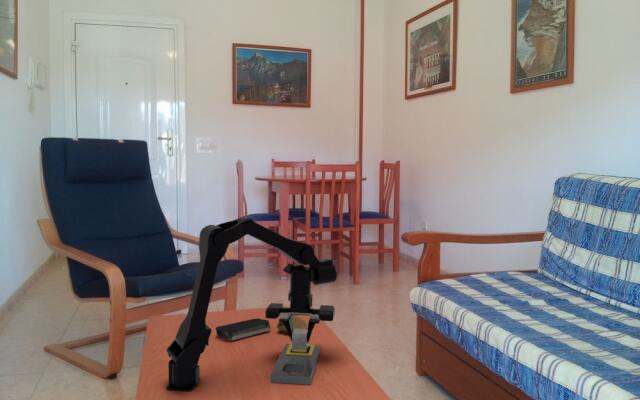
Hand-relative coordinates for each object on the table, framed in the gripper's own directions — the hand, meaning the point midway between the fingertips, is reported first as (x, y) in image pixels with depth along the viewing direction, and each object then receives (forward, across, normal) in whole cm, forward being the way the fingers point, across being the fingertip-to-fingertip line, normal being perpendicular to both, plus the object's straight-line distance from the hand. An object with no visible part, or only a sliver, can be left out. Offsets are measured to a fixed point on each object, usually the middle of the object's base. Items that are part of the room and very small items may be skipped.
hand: (300, 341), depth 145 cm
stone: (+5, +6, -21) cm, 22 cm away
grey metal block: (+3, 0, 0) cm, 3 cm away
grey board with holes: (+4, 0, +6) cm, 8 cm away
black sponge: (+5, +21, -16) cm, 27 cm away
